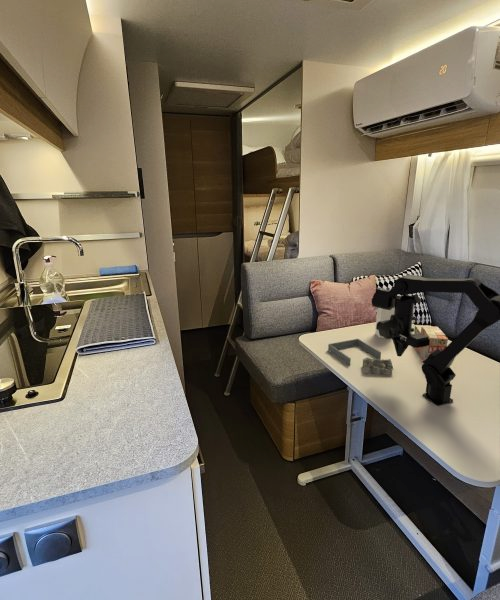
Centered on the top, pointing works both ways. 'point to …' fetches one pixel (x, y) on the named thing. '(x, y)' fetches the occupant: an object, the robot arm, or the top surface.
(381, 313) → the milk
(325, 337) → the top surface
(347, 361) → the box
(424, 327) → the stack of blocks
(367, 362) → the egg carton
